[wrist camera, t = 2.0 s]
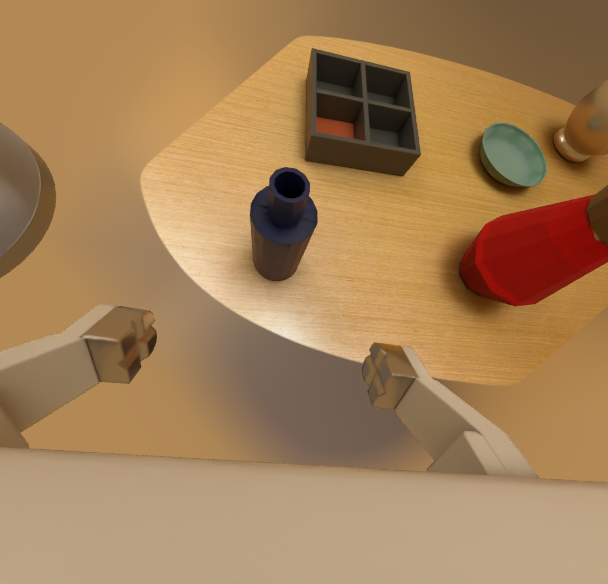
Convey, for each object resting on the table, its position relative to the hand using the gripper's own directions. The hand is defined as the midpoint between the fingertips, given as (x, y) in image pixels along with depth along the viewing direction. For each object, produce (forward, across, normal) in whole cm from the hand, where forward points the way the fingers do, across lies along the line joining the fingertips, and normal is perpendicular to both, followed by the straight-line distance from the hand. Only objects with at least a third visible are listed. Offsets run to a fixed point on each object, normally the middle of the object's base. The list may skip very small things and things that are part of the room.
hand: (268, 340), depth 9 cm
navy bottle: (+25, 0, +7) cm, 26 cm away
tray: (+45, -10, -13) cm, 48 cm away
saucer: (+46, -42, -14) cm, 64 cm away
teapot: (+53, -62, -21) cm, 84 cm away
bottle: (+28, -34, +4) cm, 45 cm away
